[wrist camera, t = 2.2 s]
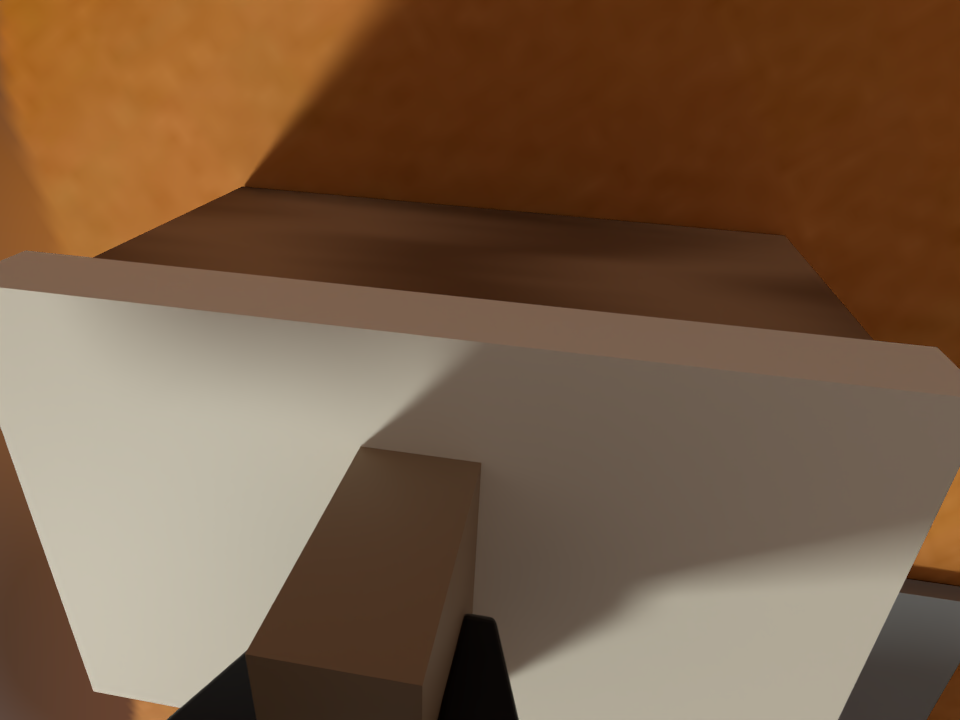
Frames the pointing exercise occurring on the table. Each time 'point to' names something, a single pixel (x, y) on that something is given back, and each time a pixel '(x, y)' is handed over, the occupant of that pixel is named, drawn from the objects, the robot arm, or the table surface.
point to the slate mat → (910, 656)
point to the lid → (462, 493)
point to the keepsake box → (503, 258)
